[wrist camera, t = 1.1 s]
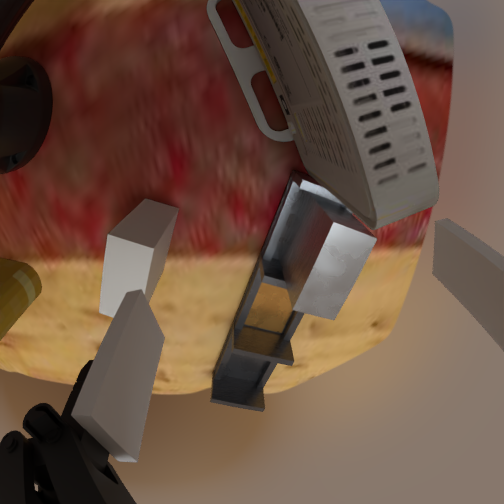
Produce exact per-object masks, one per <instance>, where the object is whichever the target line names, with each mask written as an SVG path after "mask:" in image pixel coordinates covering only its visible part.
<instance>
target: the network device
mask: <svg viewBox="0 0 504 504" xmlns="http://www.w3.org/2000/svg"><path fill="white" fill-rule="evenodd" d="M219 1H221V0H209V1H208V3H207V13H208V16H209V19H210V21H211V23H212V25H213V27H214V29H215V31H216V34H217V36H218V38H219V40H220V42H221V44H222V46H223V48H224V51H225V53H226V55H227V57H228V59H229V62H230V64H231V66H232V68H233V70H234V73H235V75H236V77H237V79H238V82H239V84H240V86H241V88H242V91H243V93H244V95H245V98H246V100H247V102H248V105H249V107H250V109H251V112H252V114H253V116H254V119H255V121H256V123H257V125H258V127H259V129H260V130H261V131H262V133H263V134H265V135H266V136H267V137H269V138H271V139H273V140H275V141H281V142H287V141H292V140H294V141H295V143H296V146H297V148H298V151H299V154H300V156H301V159H302V162H303V164H304V166H305V168H306V170H307V172H308V174H309V175H310V176H311V177H313V178H314V179H315V180H316V181H317V182H318V183H320V184H321V185H322V186H323V187H324V188H325V189H327V190H328V191H329V192H330V193H331V194H332V195H334V196H335V197H336V198H337V199H338V200H339V201H340V202H341V203H343V204H344V205H345V206H346V207H347V208H348V209H349V210H350V211H352V212H353V213H354V214H355V215H356V216H357V217H358V218H359V219H360V220H361V221H362V222H363V223H365V224H366V225H367V226H368V227H369V228H370V229H371V230H375V229H378V228H380V227H383V226H385V225H388V224H390V223H393V222H395V221H398V220H400V219H403V218H405V217H407V216H410V215H412V214H415V213H417V212H420V211H422V210H424V209H427V208H429V207H432V206H434V205H435V204H436V203H437V201H438V198H439V184H438V178H437V173H436V167H435V162H434V158H433V153H432V148H431V144H430V140H429V136H428V132H427V128H426V124H425V120H424V116H423V113H422V109H421V106H420V103H419V99H418V96H417V93H416V90H415V87H414V84H413V81H412V78H411V75H410V72H409V69H408V66H407V64H406V61H405V58H404V56H403V53H402V50H401V48H400V45H399V43H398V40H397V38H396V36H395V33H394V31H393V29H392V26H391V24H390V22H389V20H388V18H387V15H386V13H385V11H384V9H383V7H382V5H381V3H380V1H379V0H232V1H233V3H234V5H235V7H236V9H237V11H238V13H239V15H240V17H241V19H242V21H243V23H244V25H245V27H246V29H247V31H248V33H249V35H250V37H251V40H252V42H253V44H254V45H253V46H251V47H248V48H238V47H236V46H234V45H233V44H232V42H231V40H230V38H229V36H228V34H227V32H226V30H225V27H224V25H223V23H222V21H221V19H220V17H219V15H218V13H217V11H216V5H217V3H218V2H219ZM264 70H266V73H267V75H268V77H269V79H270V82H271V84H272V86H273V89H274V91H275V93H276V96H277V98H278V101H279V103H280V105H281V108H282V110H283V113H284V115H285V118H286V120H287V124H288V127H289V129H286V130H283V131H274V130H272V129H271V128H270V127H269V126H268V124H267V122H266V119H265V117H264V115H263V112H262V110H261V107H260V105H259V103H258V100H257V98H256V96H255V93H254V91H253V89H252V86H251V79H252V77H253V76H254V75H255V74H256V73H259V72H262V71H264Z"/></svg>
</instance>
